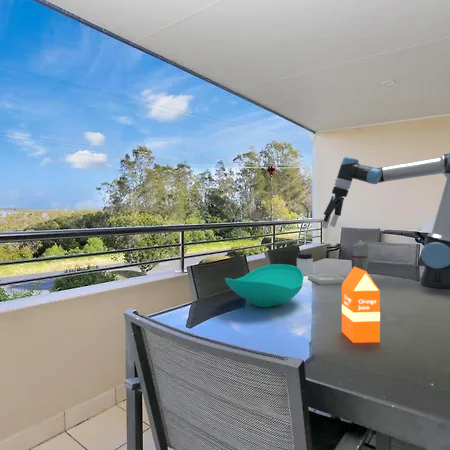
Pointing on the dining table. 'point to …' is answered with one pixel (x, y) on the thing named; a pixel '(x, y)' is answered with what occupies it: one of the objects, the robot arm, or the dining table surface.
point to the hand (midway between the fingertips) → (328, 227)
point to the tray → (326, 279)
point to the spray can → (360, 256)
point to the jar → (305, 263)
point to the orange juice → (360, 307)
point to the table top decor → (268, 284)
